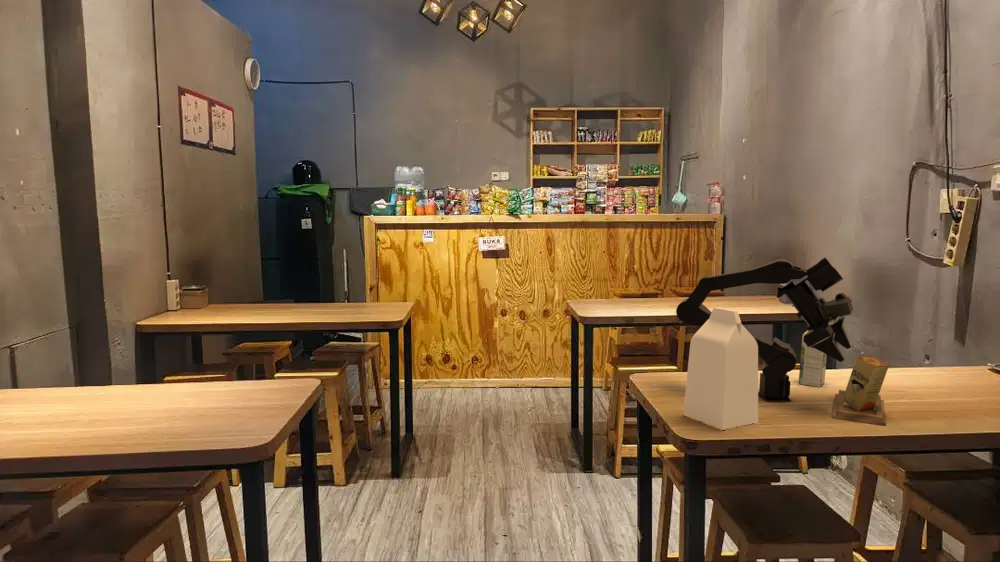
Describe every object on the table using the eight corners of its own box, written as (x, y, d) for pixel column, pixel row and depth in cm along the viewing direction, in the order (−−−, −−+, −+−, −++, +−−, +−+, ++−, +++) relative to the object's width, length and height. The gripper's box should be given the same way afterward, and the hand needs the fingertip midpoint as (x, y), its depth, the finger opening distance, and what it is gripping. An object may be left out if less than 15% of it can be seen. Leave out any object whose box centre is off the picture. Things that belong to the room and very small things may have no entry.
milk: (683, 415, 156) (687, 307, 153) (717, 408, 162) (722, 303, 159) (722, 431, 146) (728, 315, 143) (758, 423, 151) (764, 311, 148)
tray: (831, 417, 155) (832, 410, 155) (835, 396, 173) (835, 389, 172) (885, 425, 150) (886, 418, 150) (883, 402, 167) (884, 395, 167)
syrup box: (802, 379, 188) (805, 329, 186) (825, 383, 185) (828, 332, 183) (798, 384, 184) (801, 333, 182) (821, 387, 180) (825, 335, 178)
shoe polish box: (858, 411, 158) (873, 367, 154) (842, 400, 162) (856, 357, 158) (873, 409, 160) (888, 365, 156) (856, 398, 164) (871, 355, 160)
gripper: (827, 296, 153) (870, 352, 150) (842, 276, 167) (882, 327, 165) (785, 319, 160) (826, 373, 157) (804, 298, 174) (841, 347, 172)
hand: (846, 354), depth 162 cm, fingers open, 9 cm apart
